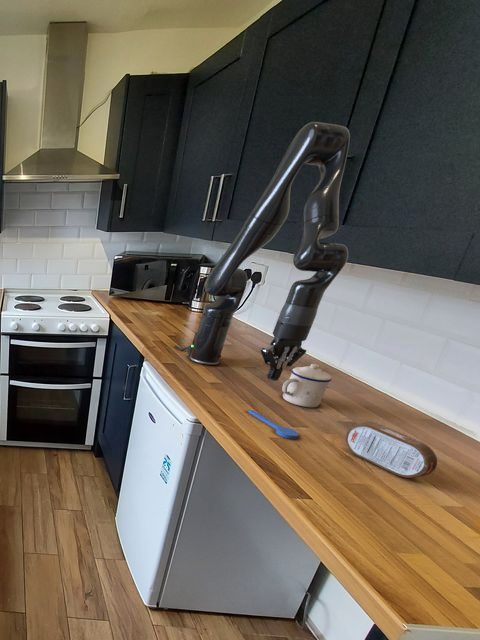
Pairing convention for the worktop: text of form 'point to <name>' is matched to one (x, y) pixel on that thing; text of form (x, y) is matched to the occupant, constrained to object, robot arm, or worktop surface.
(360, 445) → the tin
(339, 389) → the worktop surface
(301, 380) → the teacup with lid
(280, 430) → the spoon
